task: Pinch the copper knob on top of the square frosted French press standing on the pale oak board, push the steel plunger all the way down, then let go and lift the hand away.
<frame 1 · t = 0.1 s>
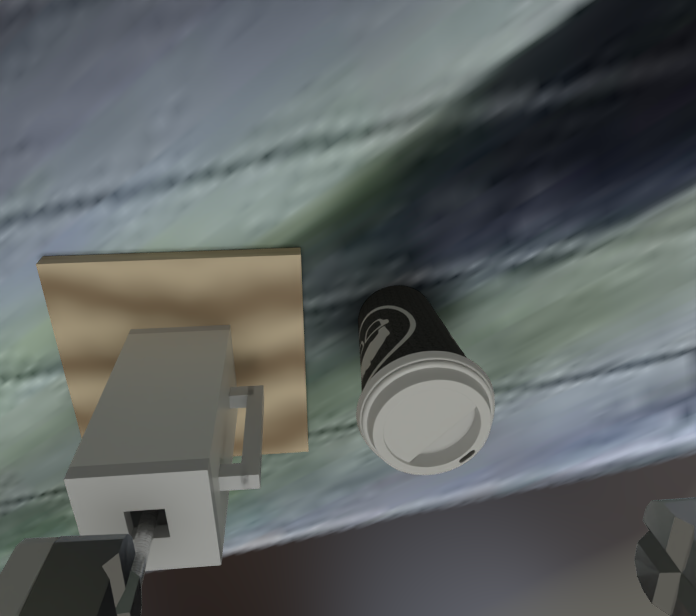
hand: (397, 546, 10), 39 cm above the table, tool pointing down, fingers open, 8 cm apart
board: (189, 358, 53), on the table
press: (186, 367, 51), resting on board
coffee cup: (394, 317, 53), on the table
plunger: (135, 570, 34), point 22 cm above the table, slide at 0.0 cm
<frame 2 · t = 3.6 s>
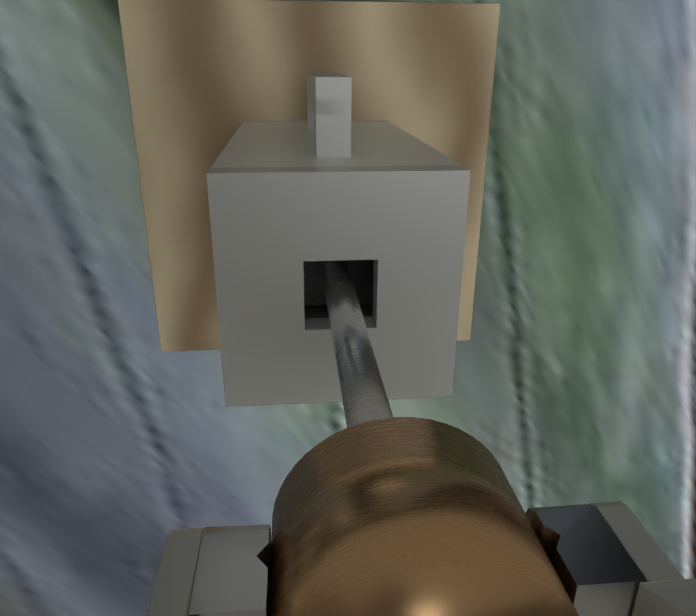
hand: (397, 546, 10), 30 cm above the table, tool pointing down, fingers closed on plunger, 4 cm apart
board: (315, 186, 37), on the table
press: (316, 191, 35), resting on board
plunger: (350, 337, 17), point 22 cm above the table, slide at 0.0 cm, touching gripper
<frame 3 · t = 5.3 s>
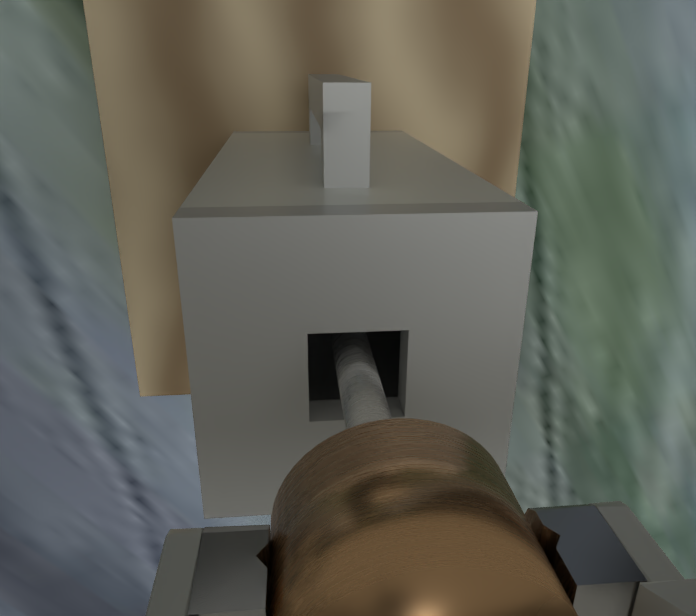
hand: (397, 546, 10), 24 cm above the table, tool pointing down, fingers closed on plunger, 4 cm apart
board: (318, 206, 32), on the table
press: (319, 213, 30), resting on board
plunger: (348, 337, 17), point 16 cm above the table, slide at 5.5 cm, touching gripper
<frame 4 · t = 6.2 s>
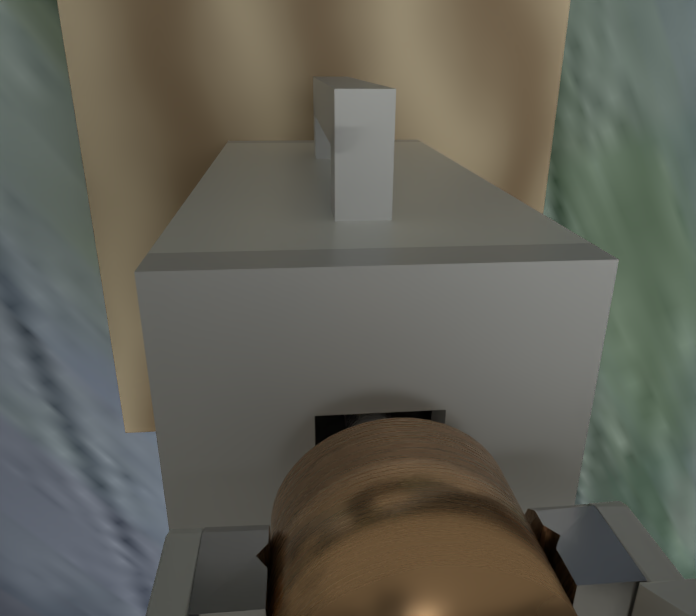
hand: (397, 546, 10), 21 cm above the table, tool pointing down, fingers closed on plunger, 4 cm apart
board: (323, 223, 28), on the table
press: (325, 232, 27), resting on board
plunger: (349, 337, 17), point 13 cm above the table, slide at 9.1 cm, touching gripper
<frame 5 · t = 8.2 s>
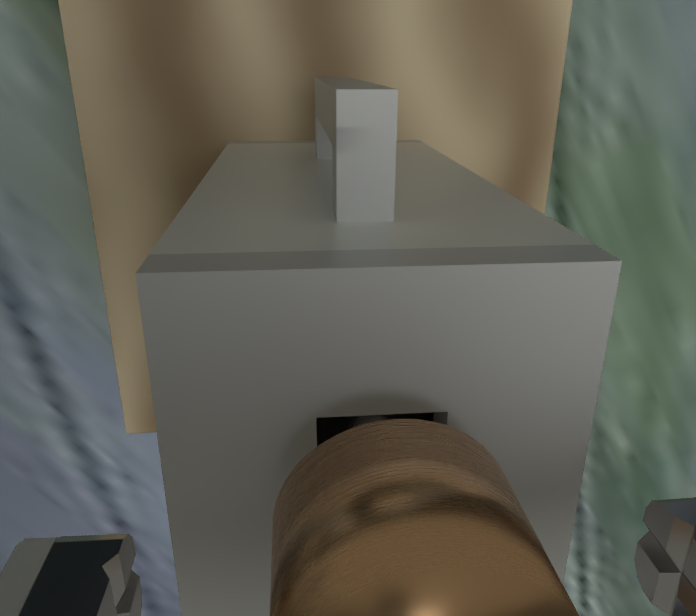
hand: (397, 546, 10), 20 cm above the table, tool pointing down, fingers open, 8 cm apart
board: (324, 224, 28), on the table
press: (326, 232, 27), resting on board
plunger: (350, 338, 17), point 13 cm above the table, slide at 9.1 cm
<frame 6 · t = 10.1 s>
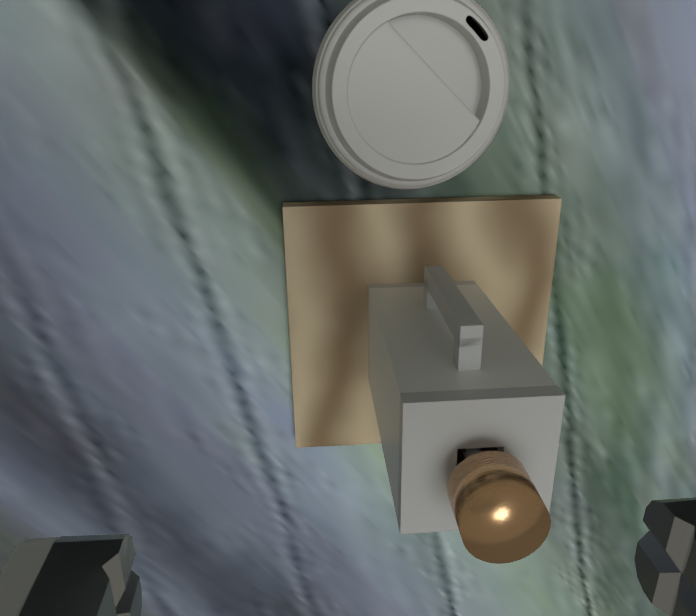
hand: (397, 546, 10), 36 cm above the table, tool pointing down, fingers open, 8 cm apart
board: (416, 323, 48), on the table
press: (419, 331, 47), resting on board
coffee cup: (379, 82, 41), on the table
plunger: (453, 407, 36), point 13 cm above the table, slide at 9.1 cm
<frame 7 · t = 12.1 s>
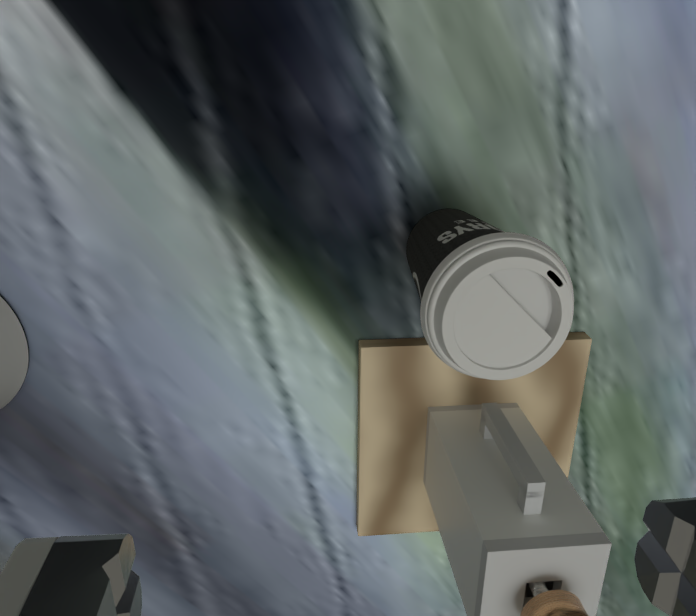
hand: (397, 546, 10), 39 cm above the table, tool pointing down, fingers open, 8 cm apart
board: (464, 433, 56), on the table
press: (468, 442, 55), resting on board
coffee cup: (445, 247, 49), on the table
plunger: (511, 530, 45), point 13 cm above the table, slide at 9.1 cm
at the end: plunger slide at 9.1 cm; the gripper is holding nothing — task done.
